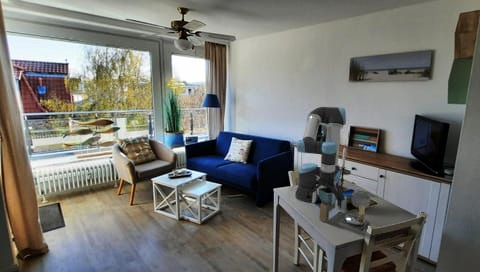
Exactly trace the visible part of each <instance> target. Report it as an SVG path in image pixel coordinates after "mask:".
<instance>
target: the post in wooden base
mask: <svg viewBox="0 0 480 272" xmlns="http://www.w3.org/2000/svg"><path fill="white" fill-rule="evenodd" d="M335 204H336V201H335V202H334V203H333V204H328V203H325V202H321V203H320V206H319V208H320V209H319V219H321V220H320V221H322V220H324V221H326V220H328V219H329V212H330V211H331V210H332V209H334V208H335ZM324 221H323V222H324Z"/></svg>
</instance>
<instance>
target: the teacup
mask: <svg viewBox="0 0 480 272" xmlns="http://www.w3.org/2000/svg"><path fill="white" fill-rule="evenodd" d="M350 198H351V204H352V206H353V207H354V208H356V209H358V210H359V205H364V206H365V209H367V208H369V207H370V203H371V195H370V194H368V193H367V192H363V191H362V192H361V191H358V190H354V191H353V192H352V193H351V197H350Z"/></svg>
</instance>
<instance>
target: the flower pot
mask: <svg viewBox="0 0 480 272" xmlns="http://www.w3.org/2000/svg"><path fill="white" fill-rule="evenodd" d="M337 192H338V191H337ZM332 194H333V192H332V190H330V188H327V187H321V188H320V187H319V188H318V198H319V200H320V201H321V203H323V202H325V203H328V204H330V205H331V203H332Z"/></svg>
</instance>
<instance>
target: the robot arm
mask: <svg viewBox="0 0 480 272" xmlns="http://www.w3.org/2000/svg"><path fill="white" fill-rule="evenodd" d="M346 114H347V113H346V109H345V108H344V107H338V106H337V107H334V106H319V107H317V108H314V109H313V110H312V111H310V112H309V113H308V115H307V117H306V122H307V123H306V127H305V130H304V133H303V136H302V139H298V140H297V143H296V150H297V152H298V153H303V154H310V155H311V154H313V155H321V158H320V166H318V164H317V163H313V162H308V163H303V164H301V165H300V166H299V170H298V183H297V184H298V186H297V187H296V188H297V189H296V191H295V193H294V194H295V195H294V197H295V198H296V199H297V200H299V201H300V202H301V201H302V202H305V203H307V202H308V203H312V204H315V203H316V201H318V200H319V192H318V189H320V187H321V186H322V187H323V188H325V187H327V188H330V190H332V192H333V194H334V195H335V197H336V198H337V200H336V204H335V211H336V212H337V211H338V210H339V207H340V206H341V204H342V201H343V200H344V199H345V197H346V196H345V195H344V192H342V189H341V187H340V186H341V184H340V182H341V181H340V179H341V173H342V170H341V169H342V168H340V167H341V166H340V165H339V154H340V144H341V143H340V142H341V141H340V140H341V130H342V129H343V128H344V126H345V125H347V116H346ZM321 124H324V126H325V127H326V138H325V141H318V140H316V139H317V134H318V131H319V126H320V125H321ZM335 187H336V188H337V190H336V189H335ZM337 191H338V192H337Z"/></svg>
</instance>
